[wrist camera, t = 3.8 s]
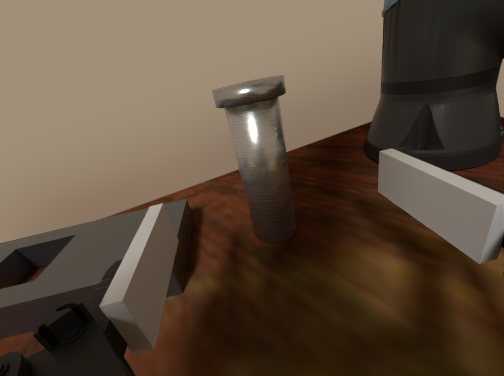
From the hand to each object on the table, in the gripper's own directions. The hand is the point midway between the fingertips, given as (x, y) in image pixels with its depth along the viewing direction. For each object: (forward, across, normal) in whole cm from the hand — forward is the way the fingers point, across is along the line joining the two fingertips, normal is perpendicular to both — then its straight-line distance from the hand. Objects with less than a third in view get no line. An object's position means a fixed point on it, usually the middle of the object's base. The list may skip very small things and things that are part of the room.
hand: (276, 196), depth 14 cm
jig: (+8, -20, -8) cm, 22 cm away
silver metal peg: (+8, 0, -8) cm, 11 cm away
